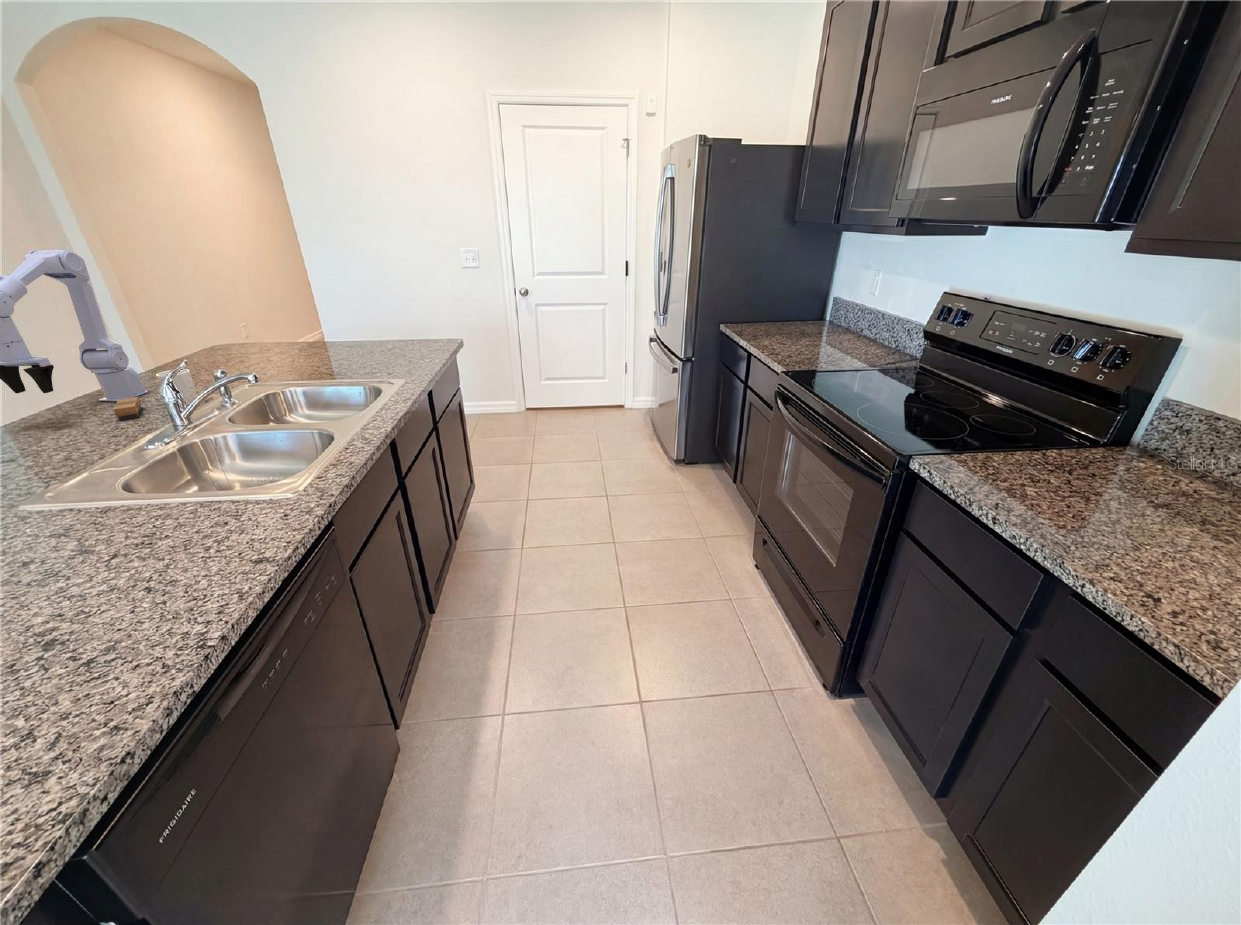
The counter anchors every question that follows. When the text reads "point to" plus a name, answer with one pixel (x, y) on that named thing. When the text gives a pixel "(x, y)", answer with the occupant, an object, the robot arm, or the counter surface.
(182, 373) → the white cup
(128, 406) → the scrub brush
